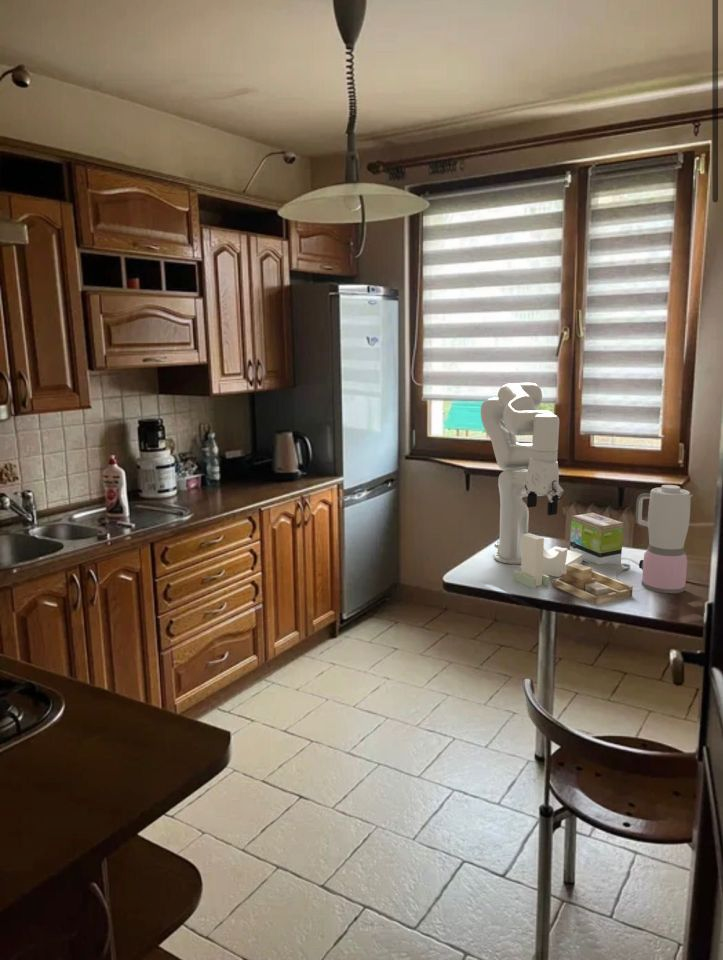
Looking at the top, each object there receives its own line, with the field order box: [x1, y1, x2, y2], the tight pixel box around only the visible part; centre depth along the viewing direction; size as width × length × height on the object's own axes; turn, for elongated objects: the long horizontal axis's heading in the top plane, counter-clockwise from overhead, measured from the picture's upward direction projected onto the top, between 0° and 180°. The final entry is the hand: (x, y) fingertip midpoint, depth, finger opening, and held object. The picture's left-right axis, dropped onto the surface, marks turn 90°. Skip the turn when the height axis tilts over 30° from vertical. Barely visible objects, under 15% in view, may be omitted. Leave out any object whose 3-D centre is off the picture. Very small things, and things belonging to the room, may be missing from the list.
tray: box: [552, 570, 634, 605], centre depth 212 cm, size 18×14×4 cm
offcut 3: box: [585, 583, 608, 596], centre depth 206 cm, size 5×4×4 cm
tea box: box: [569, 512, 624, 566], centre depth 243 cm, size 15×10×15 cm, turn 25°
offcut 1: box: [566, 563, 593, 580], centre depth 213 cm, size 6×4×3 cm, turn 35°
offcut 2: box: [561, 572, 595, 591], centre depth 213 cm, size 9×4×4 cm, turn 27°
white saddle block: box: [542, 546, 583, 578], centre depth 233 cm, size 18×10×10 cm, turn 141°
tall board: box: [520, 532, 545, 587], centre depth 218 cm, size 6×3×15 cm, turn 26°
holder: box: [513, 570, 550, 590], centre depth 219 cm, size 10×8×4 cm
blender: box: [635, 484, 694, 594], centre depth 213 cm, size 16×12×32 cm
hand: (541, 510), depth 217 cm, fingers open, 9 cm apart
